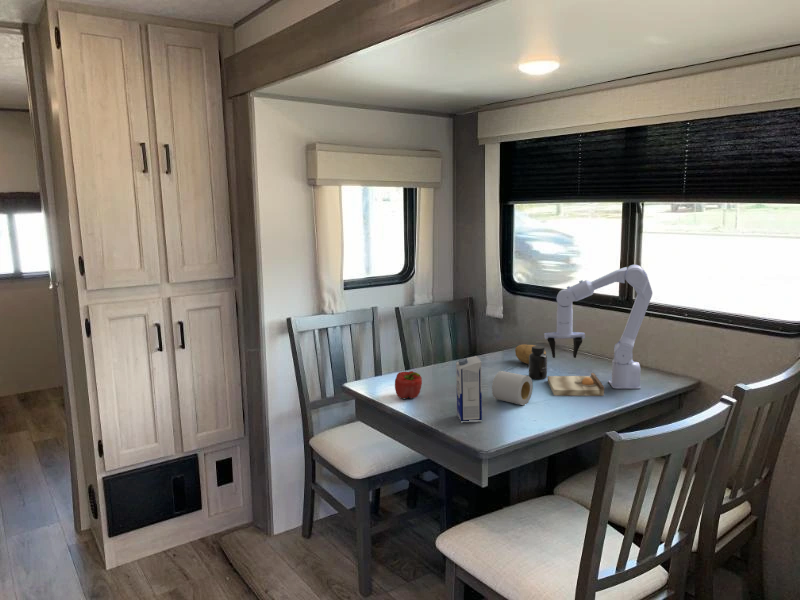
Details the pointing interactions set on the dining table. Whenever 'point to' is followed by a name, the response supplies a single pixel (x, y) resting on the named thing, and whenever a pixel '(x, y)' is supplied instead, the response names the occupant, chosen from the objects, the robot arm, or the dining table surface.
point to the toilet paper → (512, 387)
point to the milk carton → (469, 389)
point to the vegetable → (408, 384)
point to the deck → (575, 386)
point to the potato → (524, 352)
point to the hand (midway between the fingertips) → (564, 357)
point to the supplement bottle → (538, 363)
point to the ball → (587, 381)
